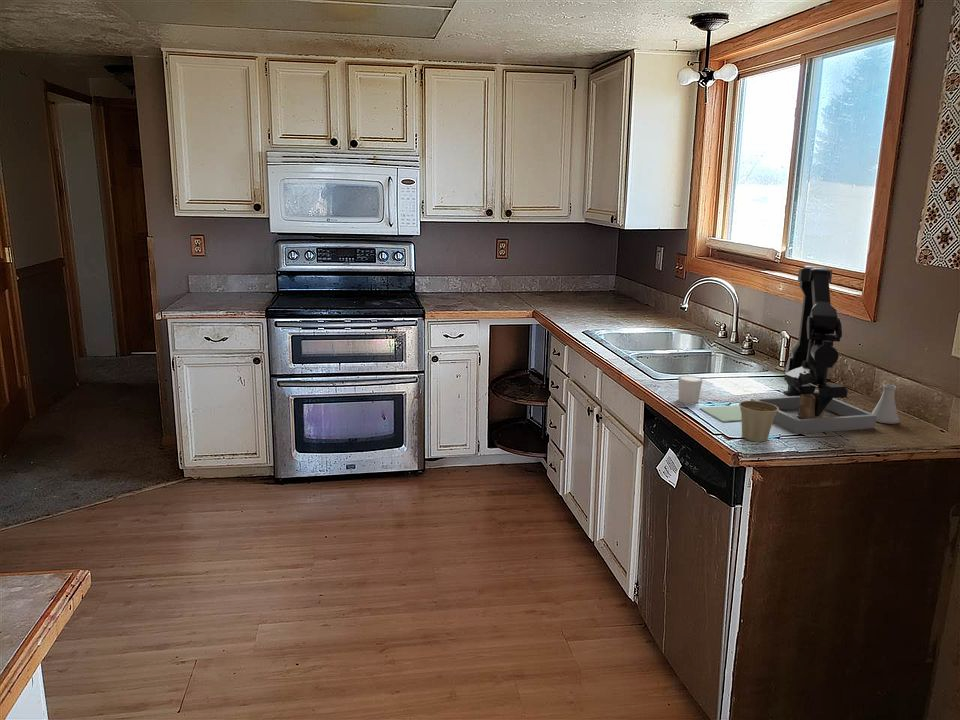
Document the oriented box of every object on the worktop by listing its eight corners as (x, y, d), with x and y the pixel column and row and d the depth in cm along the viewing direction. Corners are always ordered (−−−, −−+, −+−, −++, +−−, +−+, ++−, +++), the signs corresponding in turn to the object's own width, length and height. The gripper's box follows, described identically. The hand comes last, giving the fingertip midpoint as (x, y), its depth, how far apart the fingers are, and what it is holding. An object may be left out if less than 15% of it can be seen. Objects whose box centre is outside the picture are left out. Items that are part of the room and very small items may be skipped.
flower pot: (763, 431, 193) (766, 400, 191) (782, 444, 184) (786, 411, 182) (729, 432, 192) (732, 400, 190) (746, 445, 183) (750, 411, 181)
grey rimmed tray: (749, 410, 211) (751, 398, 210) (822, 405, 217) (824, 394, 216) (796, 433, 192) (797, 421, 191) (874, 428, 198) (876, 415, 197)
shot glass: (684, 396, 224) (686, 374, 222) (704, 401, 219) (706, 378, 217) (671, 400, 219) (673, 377, 217) (692, 405, 214) (694, 382, 213)
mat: (699, 409, 211) (699, 407, 211) (736, 406, 214) (736, 405, 214) (722, 422, 200) (723, 420, 200) (761, 419, 203) (761, 418, 203)
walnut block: (798, 416, 206) (800, 394, 205) (811, 415, 207) (814, 393, 206) (808, 421, 202) (811, 398, 200) (822, 420, 203) (825, 397, 201)
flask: (889, 416, 208) (895, 382, 206) (904, 424, 201) (910, 389, 199) (864, 416, 208) (869, 382, 206) (878, 424, 201) (884, 389, 199)
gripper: (771, 351, 207) (764, 405, 211) (816, 368, 190) (808, 426, 193) (805, 350, 210) (798, 403, 214) (852, 366, 192) (844, 423, 196)
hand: (811, 413), depth 204 cm, fingers closed on walnut block, 4 cm apart
